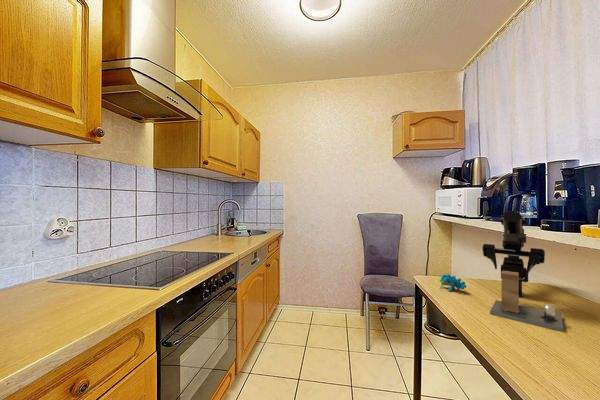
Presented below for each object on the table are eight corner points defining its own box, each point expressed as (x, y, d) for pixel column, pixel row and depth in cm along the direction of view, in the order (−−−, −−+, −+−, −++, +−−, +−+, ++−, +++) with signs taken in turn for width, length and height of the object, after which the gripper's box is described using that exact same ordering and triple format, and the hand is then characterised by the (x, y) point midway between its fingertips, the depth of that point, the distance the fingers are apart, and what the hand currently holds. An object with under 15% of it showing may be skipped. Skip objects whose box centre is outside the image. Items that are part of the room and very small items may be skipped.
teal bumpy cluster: (471, 288, 113) (459, 274, 111) (467, 300, 110) (454, 285, 108) (447, 285, 123) (435, 271, 120) (442, 295, 120) (431, 281, 118)
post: (502, 305, 95) (502, 270, 95) (518, 309, 92) (518, 272, 92) (501, 309, 91) (501, 272, 91) (518, 313, 88) (518, 275, 88)
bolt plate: (495, 303, 101) (495, 289, 101) (561, 317, 88) (561, 302, 88) (490, 314, 90) (490, 299, 91) (563, 331, 78) (563, 314, 78)
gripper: (482, 224, 108) (479, 254, 99) (544, 227, 95) (546, 262, 87) (485, 241, 113) (482, 271, 105) (543, 246, 101) (545, 280, 93)
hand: (511, 270), depth 97 cm, fingers open, 9 cm apart
